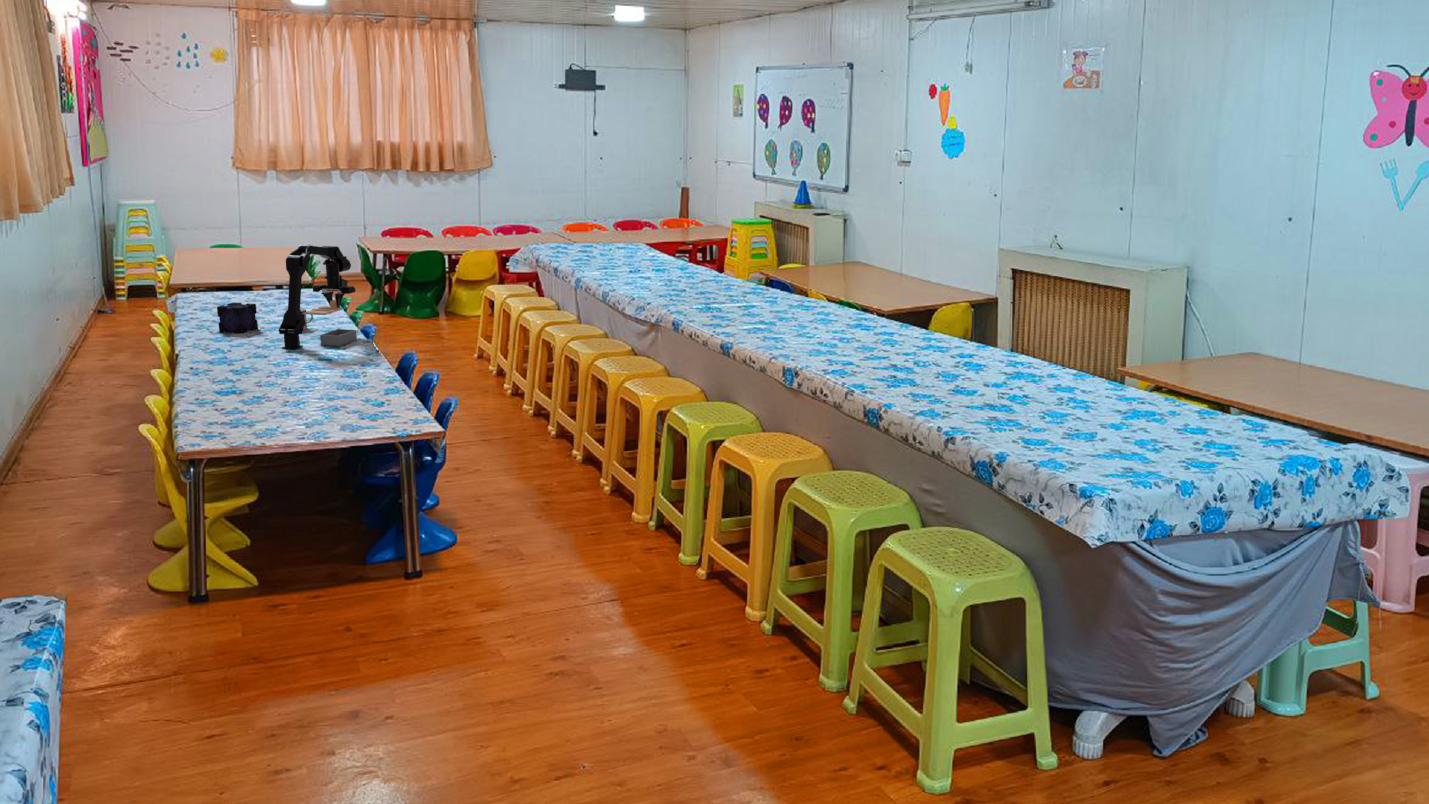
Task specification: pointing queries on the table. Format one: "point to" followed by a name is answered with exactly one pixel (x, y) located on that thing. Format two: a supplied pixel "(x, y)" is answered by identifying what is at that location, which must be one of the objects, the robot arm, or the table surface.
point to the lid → (325, 309)
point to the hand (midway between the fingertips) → (335, 307)
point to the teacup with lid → (305, 318)
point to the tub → (338, 338)
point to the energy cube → (237, 318)
